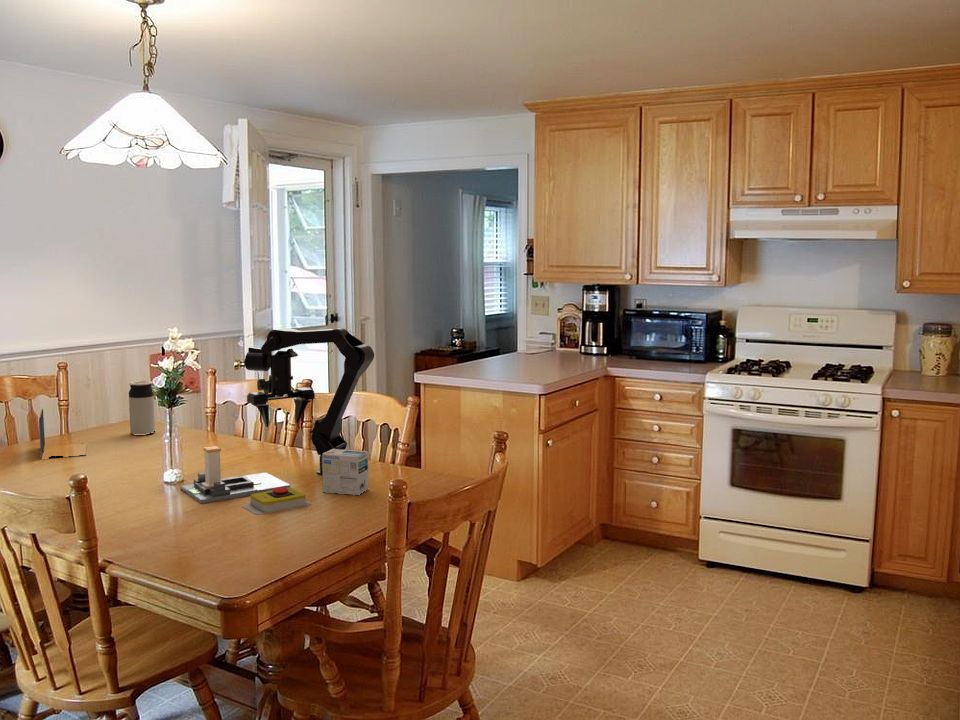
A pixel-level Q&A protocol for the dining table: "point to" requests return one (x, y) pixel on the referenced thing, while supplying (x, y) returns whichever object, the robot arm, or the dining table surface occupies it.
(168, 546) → the dining table surface
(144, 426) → the travel mug
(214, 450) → the handle
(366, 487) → the light bulb box
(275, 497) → the emergency button
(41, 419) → the laptop
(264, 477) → the breaker panel
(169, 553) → the dining table surface
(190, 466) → the dining table surface
